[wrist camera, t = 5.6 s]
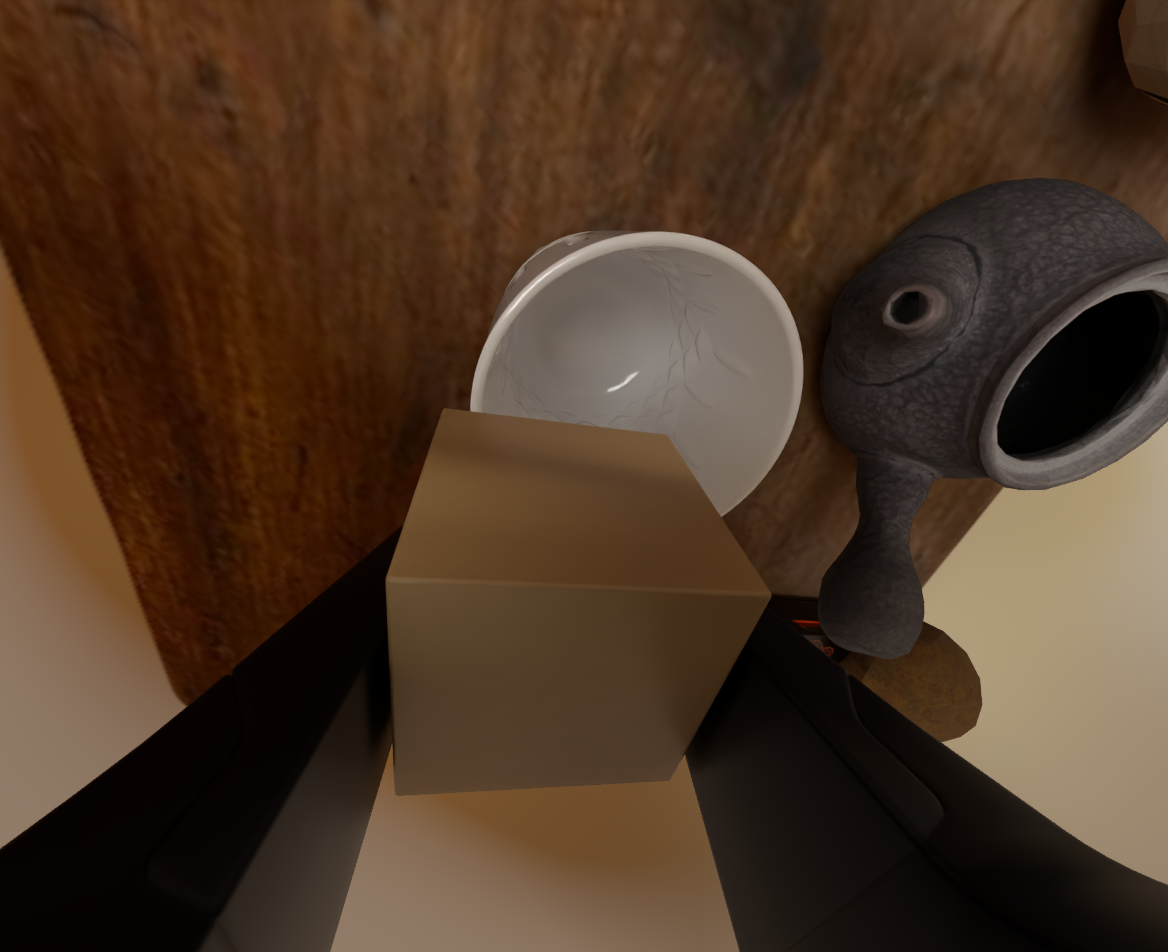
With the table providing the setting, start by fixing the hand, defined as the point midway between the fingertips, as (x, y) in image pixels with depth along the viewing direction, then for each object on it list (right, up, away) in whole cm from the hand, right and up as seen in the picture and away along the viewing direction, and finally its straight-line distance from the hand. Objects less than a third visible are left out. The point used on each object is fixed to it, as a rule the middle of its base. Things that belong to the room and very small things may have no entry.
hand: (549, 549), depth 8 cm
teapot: (+15, +6, +15) cm, 22 cm away
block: (0, +1, +1) cm, 1 cm away
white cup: (+1, +8, +11) cm, 14 cm away
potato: (+21, -16, +23) cm, 35 cm away
